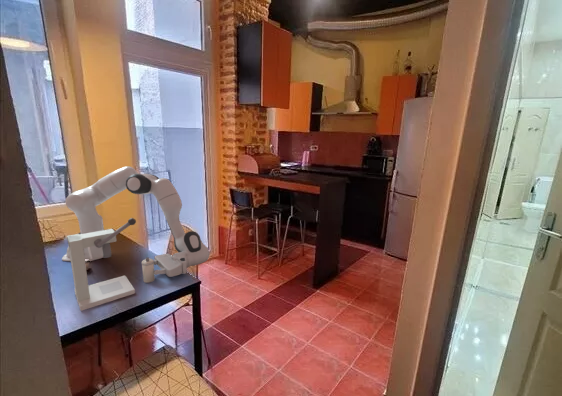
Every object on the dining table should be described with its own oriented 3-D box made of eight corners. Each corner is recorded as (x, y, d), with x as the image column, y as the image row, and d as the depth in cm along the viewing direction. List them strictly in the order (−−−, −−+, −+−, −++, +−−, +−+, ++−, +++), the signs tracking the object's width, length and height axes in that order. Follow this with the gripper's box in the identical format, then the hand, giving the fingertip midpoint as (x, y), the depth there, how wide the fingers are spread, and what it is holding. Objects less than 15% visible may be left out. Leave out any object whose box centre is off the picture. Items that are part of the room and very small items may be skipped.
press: (133, 276, 140) (126, 210, 132) (143, 290, 128) (137, 219, 121) (75, 293, 125) (63, 219, 117) (80, 310, 113) (68, 230, 105)
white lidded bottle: (141, 283, 135) (139, 260, 132) (145, 277, 140) (143, 255, 137) (153, 282, 135) (151, 260, 133) (156, 277, 140) (154, 255, 138)
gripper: (171, 249, 153) (143, 255, 144) (187, 262, 138) (157, 271, 129) (171, 259, 154) (144, 267, 145) (187, 274, 140) (158, 283, 131)
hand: (151, 269), depth 137 cm, fingers open, 8 cm apart
